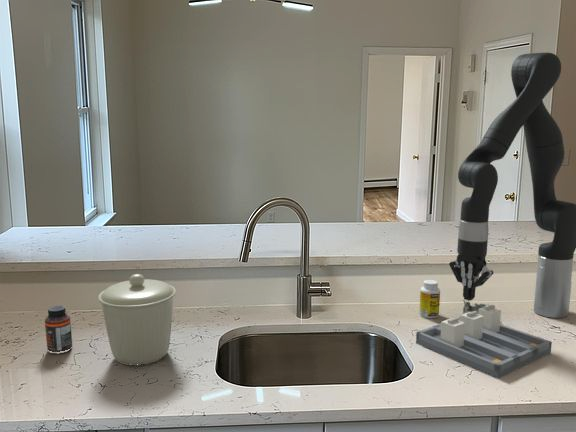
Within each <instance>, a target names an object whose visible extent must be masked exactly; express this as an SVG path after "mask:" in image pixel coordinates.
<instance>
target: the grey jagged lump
mask: <svg viewBox="0 0 576 432" xmlns="http://www.w3.org/2000/svg"><path fill="white" fill-rule="evenodd" d="M462 301H463V304H464V305H463V306H462V314H465V313H468V312H473V311H477V314H478V311H479V308H482V307H485V306H490V305H491V304H490V303H479V304H478V303H476V302H475V303H474V305H471V301H466V300H465V299H463V300H462Z"/></svg>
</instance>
